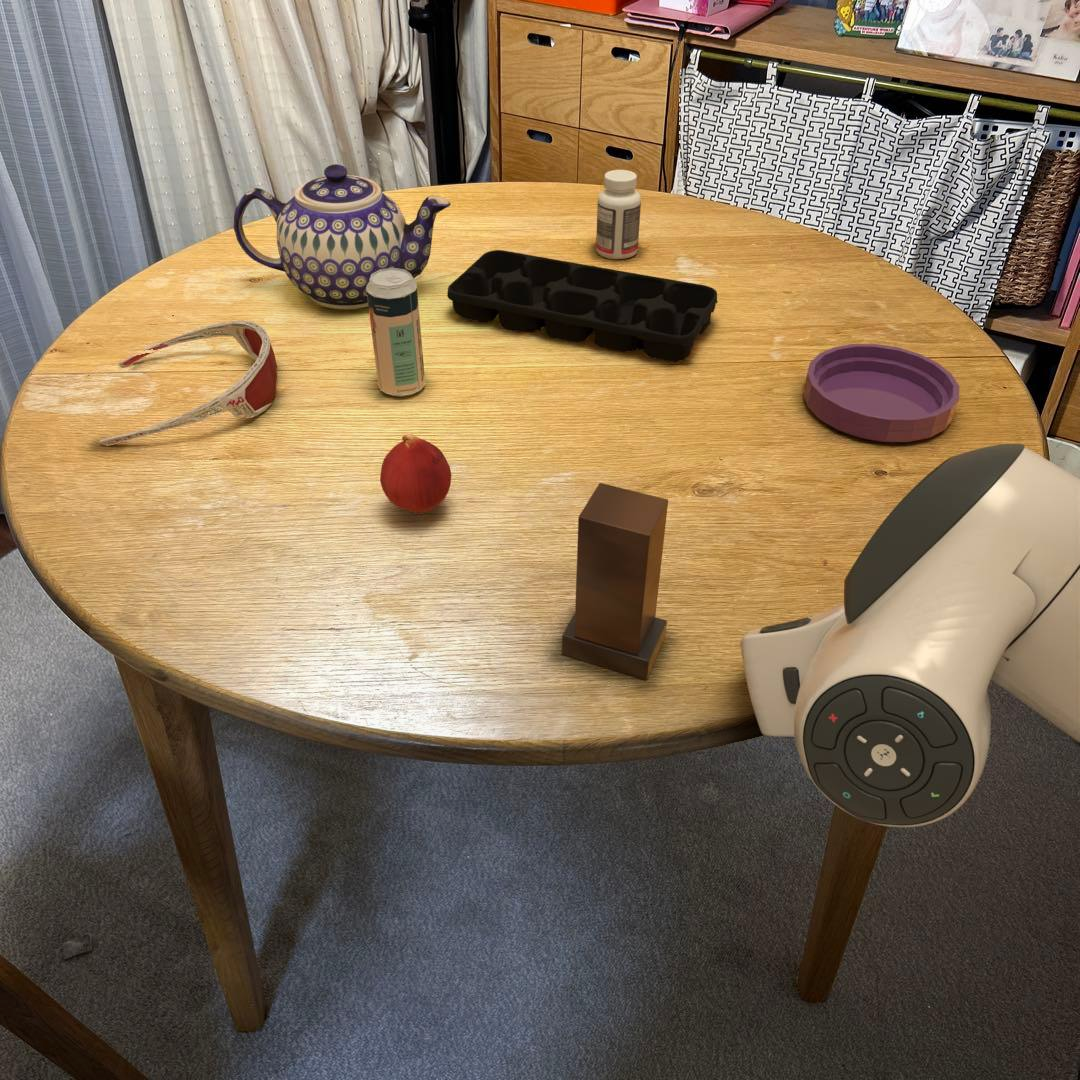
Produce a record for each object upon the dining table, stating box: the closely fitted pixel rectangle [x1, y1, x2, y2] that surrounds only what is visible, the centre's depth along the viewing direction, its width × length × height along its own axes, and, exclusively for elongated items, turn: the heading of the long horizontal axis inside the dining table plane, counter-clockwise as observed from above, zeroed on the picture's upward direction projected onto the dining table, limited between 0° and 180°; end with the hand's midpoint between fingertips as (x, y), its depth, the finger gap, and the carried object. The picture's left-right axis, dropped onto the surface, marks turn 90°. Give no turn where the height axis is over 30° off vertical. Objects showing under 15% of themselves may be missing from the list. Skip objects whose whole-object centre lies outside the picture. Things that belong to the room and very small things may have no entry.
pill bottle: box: [595, 169, 642, 260], centre depth 120 cm, size 5×5×10 cm
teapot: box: [233, 163, 452, 311], centre depth 110 cm, size 25×15×15 cm, turn 85°
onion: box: [379, 433, 452, 515], centre depth 80 cm, size 6×6×8 cm
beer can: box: [366, 268, 426, 398], centre depth 94 cm, size 5×5×12 cm
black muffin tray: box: [446, 249, 719, 363], centre depth 108 cm, size 18×30×4 cm, turn 79°
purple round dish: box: [802, 343, 960, 443], centre depth 94 cm, size 14×14×3 cm
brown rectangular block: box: [561, 482, 669, 681], centre depth 66 cm, size 6×4×13 cm
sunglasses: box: [98, 320, 278, 447], centre depth 96 cm, size 17×17×5 cm
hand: (905, 623), depth 68 cm, fingers open, 8 cm apart
